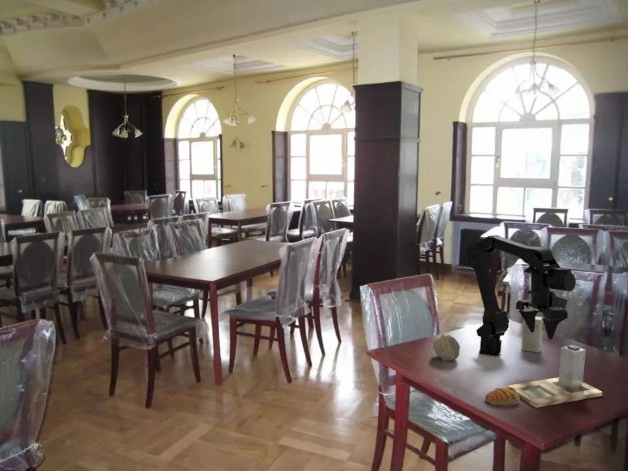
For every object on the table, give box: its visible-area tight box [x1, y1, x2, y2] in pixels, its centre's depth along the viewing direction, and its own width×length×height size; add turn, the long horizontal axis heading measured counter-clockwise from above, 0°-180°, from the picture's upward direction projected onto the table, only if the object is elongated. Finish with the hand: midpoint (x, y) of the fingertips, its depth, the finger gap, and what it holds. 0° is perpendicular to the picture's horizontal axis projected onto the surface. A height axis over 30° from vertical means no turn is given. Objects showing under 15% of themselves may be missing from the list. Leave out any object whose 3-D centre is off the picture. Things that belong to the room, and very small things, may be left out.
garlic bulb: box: [432, 333, 461, 362], centre depth 177 cm, size 9×8×10 cm
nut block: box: [557, 344, 587, 393], centre depth 153 cm, size 5×5×14 cm
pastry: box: [484, 385, 521, 407], centre depth 147 cm, size 9×7×4 cm
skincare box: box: [520, 315, 544, 354], centre depth 186 cm, size 6×4×12 cm
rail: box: [506, 376, 603, 408], centre depth 152 cm, size 24×12×1 cm, turn 109°
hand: (541, 335), depth 165 cm, fingers open, 9 cm apart
